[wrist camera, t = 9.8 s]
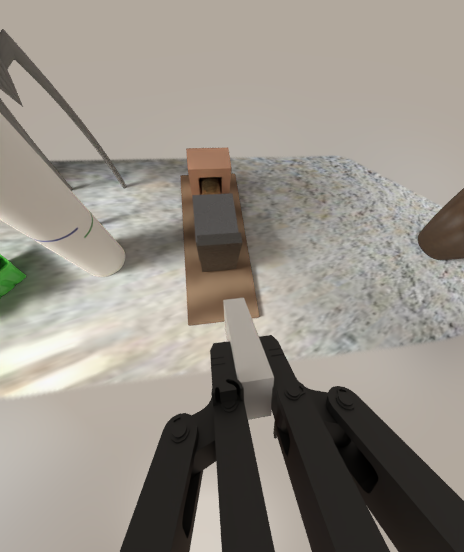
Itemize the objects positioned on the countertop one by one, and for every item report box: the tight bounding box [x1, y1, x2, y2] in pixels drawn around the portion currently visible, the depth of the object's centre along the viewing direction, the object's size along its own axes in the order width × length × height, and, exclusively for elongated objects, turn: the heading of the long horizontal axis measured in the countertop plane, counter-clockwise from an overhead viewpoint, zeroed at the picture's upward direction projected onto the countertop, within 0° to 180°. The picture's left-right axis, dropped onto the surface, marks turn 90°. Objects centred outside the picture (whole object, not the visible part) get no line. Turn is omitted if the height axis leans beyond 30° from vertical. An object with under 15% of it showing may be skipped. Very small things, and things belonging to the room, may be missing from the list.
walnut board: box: [181, 174, 259, 326], centre depth 39 cm, size 32×12×1 cm, turn 7°
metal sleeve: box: [192, 193, 239, 261], centre depth 35 cm, size 9×7×7 cm
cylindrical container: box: [0, 113, 125, 277], centre depth 25 cm, size 7×7×25 cm
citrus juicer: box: [0, 29, 126, 190], centre depth 27 cm, size 11×10×30 cm
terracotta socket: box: [186, 148, 231, 199], centre depth 39 cm, size 5×8×8 cm, turn 97°
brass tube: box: [197, 177, 242, 272], centre depth 34 cm, size 20×6×10 cm, turn 7°
